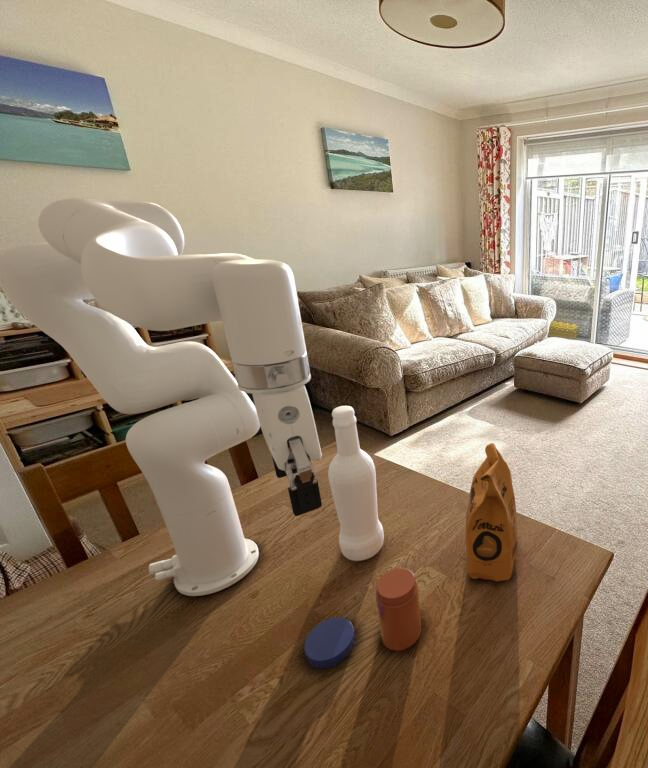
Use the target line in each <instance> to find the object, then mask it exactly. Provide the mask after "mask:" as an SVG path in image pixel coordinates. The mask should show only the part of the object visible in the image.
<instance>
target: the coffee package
mask: <svg viewBox="0 0 648 768" xmlns="http://www.w3.org/2000/svg"><path fill="white" fill-rule="evenodd" d="M484 453H485V455H486V458H485V459H484V460H483V461H482V463H481V464H480V466H479V467H478V468H477V470H476V471H475V473H474V474H473V477H472V481H471V485H470V491H469V495H468V501H467V506H466V507H467V508H466V514H465V515H466V517H465V535H464V536H465V537H464V538H465V547H466V560H467V567H466V570H467V571H466V572H467V574H468V576H469V577H470V578H471V579H474V580H477V579H483V580H486V581H487V580H490V581H494V582H496V583H498V582H503V581H508V580H510V579H511V577H512V573H513V569H514V566H515V565H514V564H515V559H516V558H517V555H518V515H517V505H516V498H515V492H514V491H515V490H514V485H513V478H512V472H511V469H510V467H509V466H508V463H507V461H505V459H504V458H503V456H502V454H501V453H500V451H499V450H498V448H497V447H496V445H495V443H494V442H491V443H488V444H487V445H486V446H485V449H484Z"/></svg>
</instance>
